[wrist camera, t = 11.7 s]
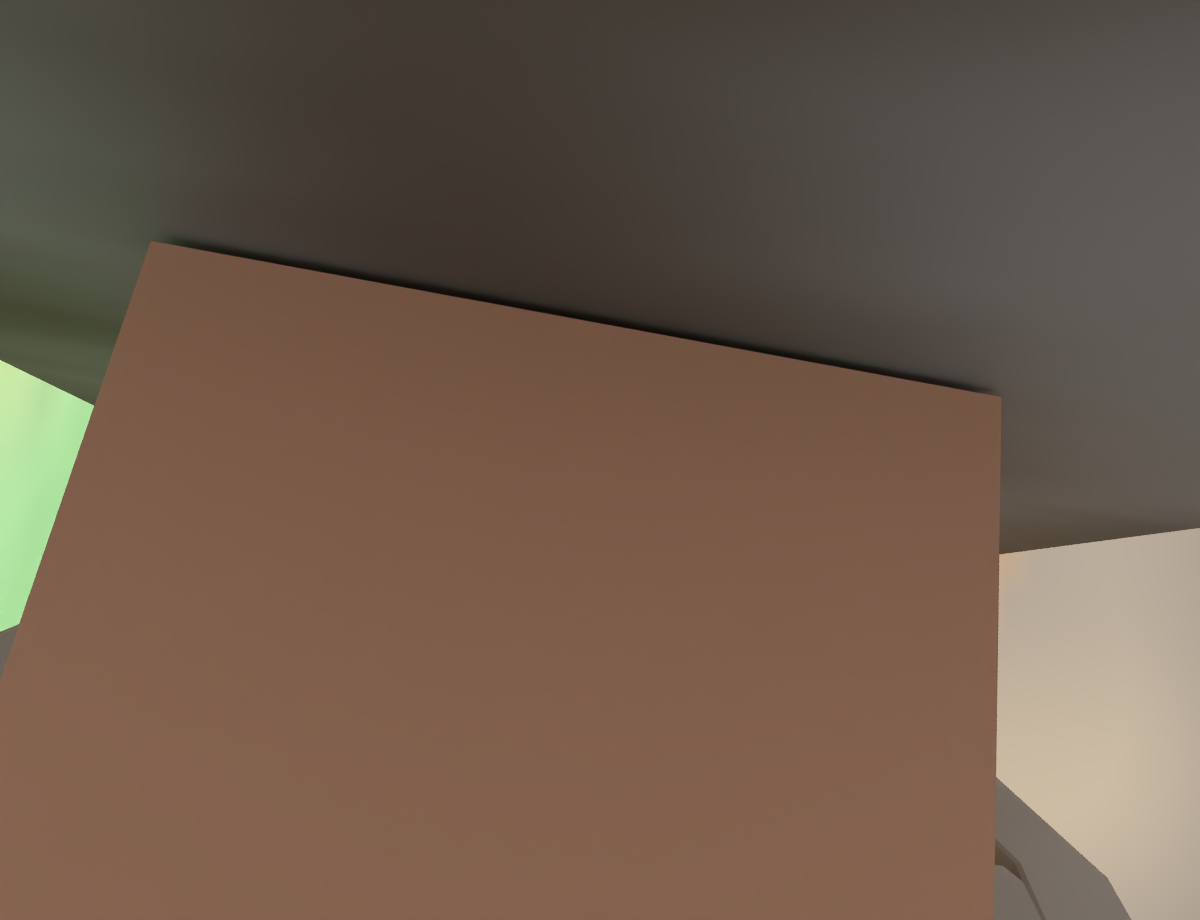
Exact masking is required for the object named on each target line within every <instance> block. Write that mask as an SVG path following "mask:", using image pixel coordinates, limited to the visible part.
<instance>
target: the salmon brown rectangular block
mask: <svg viewBox="0 0 1200 920" xmlns="http://www.w3.org/2000/svg"><path fill="white" fill-rule="evenodd" d="M1000 463H1001V397H998V396H993V395H987V394H982V393H976V392H971V391H965V390H960V389H955V388H949V387H944V386H938V385H933V384H927V383H922V382H916V381H911V380H906V379H900V378H895V377H889V376H884V375H878V374H873V373H868V372H862V371H857V370H851V369H846V368H840V367H835V366H829V365H824V364H819V363H813V362H808V361H802V360H797V359H791V358H786V357H780V356H775V355H769V354H764V353H759V352H753V351H748V350H742V349H737V348H731V347H726V346H721V345H715V344H710V343H704V342H699V341H693V340H688V339H682V338H677V337H672V336H666V335H661V334H655V333H650V332H644V331H639V330H633V329H628V328H622V327H617V326H612V325H606V324H601V323H595V322H590V321H584V320H579V319H574V318H568V317H563V316H557V315H552V314H546V313H541V312H535V311H530V310H525V309H519V308H514V307H508V306H503V305H497V304H492V303H486V302H481V301H475V300H470V299H465V298H459V297H454V296H448V295H443V294H437V293H432V292H427V291H421V290H416V289H410V288H405V287H399V286H394V285H388V284H383V283H378V282H372V281H367V280H361V279H356V278H350V277H345V276H339V275H334V274H328V273H323V272H318V271H312V270H307V269H301V268H296V267H290V266H285V265H280V264H274V263H269V262H263V261H258V260H252V259H247V258H241V257H236V256H231V255H225V254H220V253H214V252H209V251H203V250H198V249H192V248H187V247H182V246H176V245H171V244H165V243H160V242H154V241H151V242H150V245H149V248H148V251H147V254H146V257H145V260H144V263H143V265H142V268H141V271H140V274H139V277H138V280H137V283H136V286H135V289H134V292H133V295H132V298H131V300H130V303H129V306H128V309H127V312H126V315H125V318H124V321H123V324H122V327H121V330H120V332H119V335H118V338H117V341H116V344H115V347H114V350H113V353H112V356H111V359H110V362H109V365H108V367H107V370H106V373H105V376H104V379H103V382H102V385H101V388H100V391H99V394H98V397H97V399H96V402H95V405H94V408H93V411H92V414H91V417H90V420H89V423H88V426H87V429H86V431H85V434H84V437H83V440H82V443H81V446H80V449H79V452H78V455H77V458H76V461H75V464H74V466H73V469H72V472H71V475H70V478H69V481H68V484H67V487H66V490H65V493H64V496H63V498H62V501H61V504H60V507H59V510H58V513H57V516H56V519H55V522H54V525H53V528H52V531H51V533H50V536H49V539H48V542H47V545H46V548H45V551H44V554H43V557H42V560H41V563H40V565H39V568H38V571H37V574H36V577H35V580H34V583H33V586H32V589H31V592H30V595H29V597H28V600H27V603H26V606H25V609H24V612H23V615H22V618H21V621H20V624H19V627H18V630H17V632H16V635H15V638H14V641H13V644H12V647H11V650H10V653H9V656H8V659H7V662H6V664H5V667H4V670H3V673H2V676H1V679H0V920H994V872H995V804H996V735H997V734H996V733H997V732H996V731H997V667H998V666H997V665H998V600H999V531H1000Z"/></svg>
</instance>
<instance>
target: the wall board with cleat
mask: <svg viewBox="0 0 1200 920" xmlns="http://www.w3.org/2000/svg"><path fill="white" fill-rule="evenodd" d="M151 241H154V242H160V243H165V244H171V245H176V246H182V247H187V248H192V249H198V250H203V251H209V252H214V253H220V254H225V255H231V256H236V257H241V258H247V259H252V260H258V261H263V262H269V263H274V264H280V265H285V266H290V267H296V268H301V269H307V270H312V271H318V272H323V273H328V274H334V275H339V276H345V277H350V278H356V279H361V280H367V281H372V282H378V283H383V284H388V285H394V286H399V287H405V288H410V289H416V290H421V291H427V292H432V293H437V294H443V295H448V296H454V297H459V298H465V299H470V300H475V301H481V302H486V303H492V304H497V305H503V306H508V307H514V308H519V309H525V310H530V311H535V312H541V313H546V314H552V315H557V316H563V317H568V318H574V319H579V320H584V321H590V322H595V323H601V324H606V325H612V326H617V327H622V328H628V329H633V330H639V331H644V332H650V333H655V334H661V335H666V336H672V337H677V338H682V339H688V340H693V341H699V342H704V343H710V344H715V345H721V346H726V347H731V348H737V349H742V350H748V351H753V352H759V353H764V354H769V355H775V356H780V357H786V358H791V359H797V360H802V361H808V362H813V363H819V364H824V365H829V366H835V367H840V368H846V369H851V370H857V371H862V372H868V373H873V374H878V375H884V376H889V377H895V378H900V379H906V380H911V381H916V382H922V383H927V384H933V385H938V386H944V387H949V388H955V389H960V390H965V391H971V392H976V393H982V394H987V395H993V396H998V397H1001V463H1000V531H999V554H1005V553H1012V552H1020V551H1028V550H1035V549H1043V548H1050V547H1058V546H1065V545H1073V544H1080V543H1088V542H1096V541H1103V540H1111V539H1118V538H1125V537H1133V536H1141V535H1149V534H1156V533H1164V532H1171V531H1179V530H1186V529H1194V528H1200V0H0V360H2V361H4V362H6V363H8V364H10V365H12V366H14V367H16V368H18V369H20V370H22V371H24V372H26V373H28V374H30V375H33V376H35V377H37V378H39V379H41V380H43V381H45V382H47V383H49V384H51V385H53V386H55V387H57V388H59V389H61V390H63V391H66V392H68V393H70V394H72V395H74V396H76V397H78V398H80V399H82V400H84V401H86V402H88V403H90V404H92V405H95V402H96V399H97V397H98V394H99V391H100V388H101V385H102V382H103V379H104V376H105V373H106V370H107V367H108V365H109V362H110V359H111V356H112V353H113V350H114V347H115V344H116V341H117V338H118V335H119V332H120V330H121V327H122V324H123V321H124V318H125V315H126V312H127V309H128V306H129V303H130V300H131V298H132V295H133V292H134V289H135V286H136V283H137V280H138V277H139V274H140V271H141V268H142V265H143V263H144V260H145V257H146V254H147V251H148V248H149V245H150V242H151Z"/></svg>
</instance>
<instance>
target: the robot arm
mask: <svg viewBox="0 0 1200 920" xmlns="http://www.w3.org/2000/svg"><path fill="white" fill-rule="evenodd" d="M18 627H19V624H18V625H16V626H14V627H11V628H9V629H6V630H4V631H2V632H0V679H1V676H2V673H3V670H4V667H5V664H6V662H7V659H8V656H9V653H10V650H11V647H12V644H13V641H14V638H15V635H16V632H17V630H18ZM994 920H1131V919H1130V917H1129V915H1128V913H1127V912H1126V910H1125V908H1124V906H1123V905H1122V903H1121V901H1120V899H1119V898H1118V896H1117V894H1116V892H1115V891H1114V889H1113V887H1112V885H1111V883H1110V882H1109V880H1108V878H1107V877H1106V876H1105V875H1103V874H1102V873H1101V872H1100V871H1099V870H1098V869H1097V868H1096V867H1095V866H1094V865H1092V864H1091V863H1090V862H1089V861H1088V860H1087V859H1086V858H1085V857H1083V855H1081V854H1080V853H1079V852H1078V851H1077V850H1076V849H1075V848H1074V847H1073V846H1071V845H1070V844H1069V843H1068V842H1067V841H1066V840H1065V839H1064V838H1063V837H1061V836H1060V835H1059V834H1058V833H1057V832H1056V831H1055V830H1054V829H1053V828H1052V827H1051V826H1049V825H1048V824H1047V823H1046V822H1045V821H1044V820H1042V818H1041V817H1039V816H1038V815H1037V814H1036V813H1035V812H1034V811H1033V810H1032V809H1031V808H1030V807H1028V806H1027V805H1026V804H1025V803H1024V802H1023V801H1022V800H1021V799H1020V798H1019V797H1017V796H1016V795H1015V794H1014V793H1013V792H1012V791H1011V790H1010V789H1009V788H1007V787H1006V786H1005V785H1004V784H1003V783H1002V782H1001V781H1000V780H998V778H996V804H995V872H994Z"/></svg>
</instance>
